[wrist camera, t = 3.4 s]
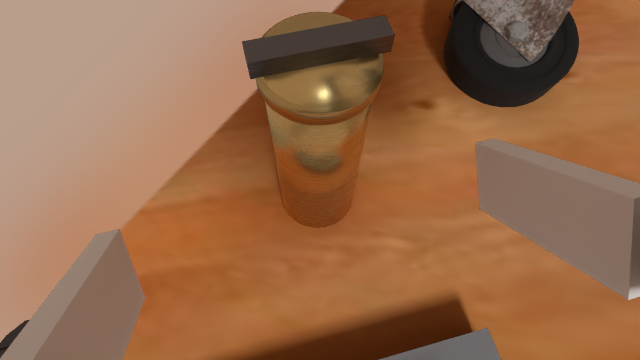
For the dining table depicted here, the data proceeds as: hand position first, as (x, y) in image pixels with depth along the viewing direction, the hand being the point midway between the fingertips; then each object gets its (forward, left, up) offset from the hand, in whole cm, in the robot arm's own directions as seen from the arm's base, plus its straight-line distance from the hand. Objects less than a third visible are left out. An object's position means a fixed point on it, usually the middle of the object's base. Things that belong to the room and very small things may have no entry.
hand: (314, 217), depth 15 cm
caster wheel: (-18, -13, -10) cm, 24 cm away
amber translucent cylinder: (-1, -5, -9) cm, 11 cm away
